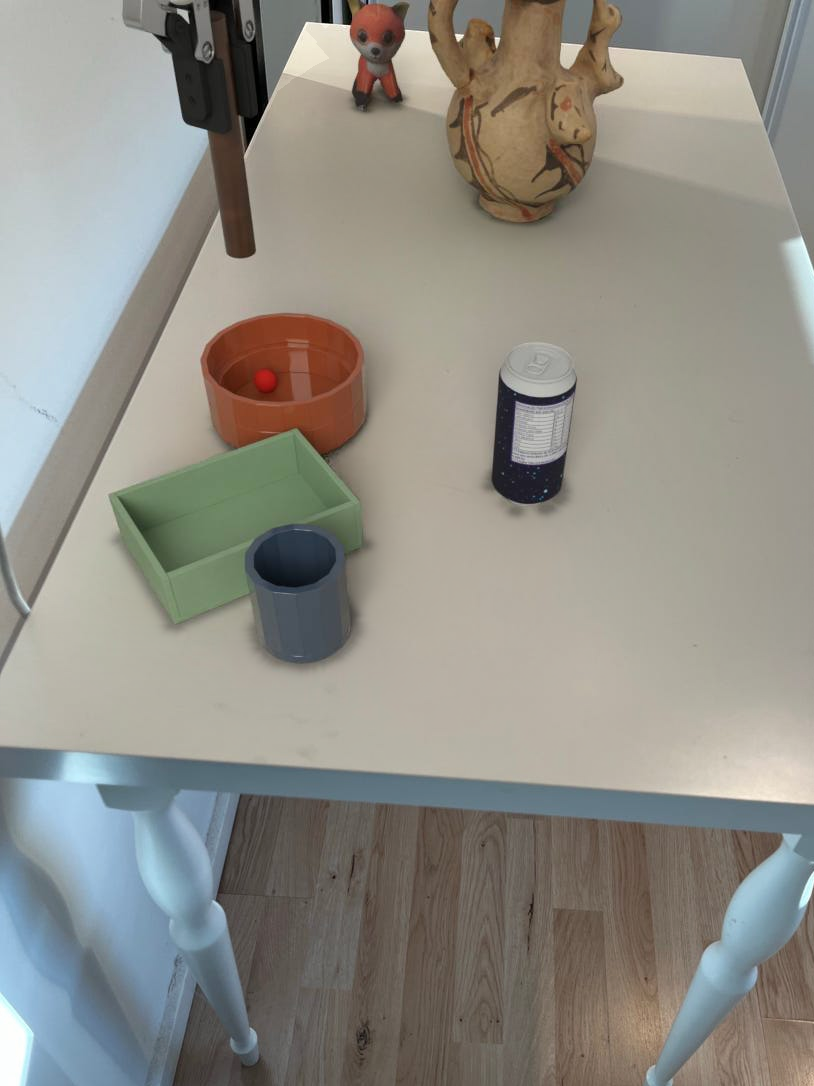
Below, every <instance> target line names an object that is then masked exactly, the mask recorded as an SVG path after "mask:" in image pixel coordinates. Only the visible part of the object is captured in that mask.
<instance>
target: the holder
mask: <svg viewBox="0 0 814 1086" xmlns="http://www.w3.org/2000/svg"><path fill="white" fill-rule="evenodd" d="M346 564H347V563H346V554H345V551H344V546H343V545H342V544H341V542H340V541H339V540H338V539H337V537H336V536H335V535H334V534H333V533H331V532H329V531H327V530H325V529H323V528H320V527H318V526H315V525H308V524H296V523H294V524H288V525H284V526H279V527H275V528H272V529H270V530H268V531H267V532H265V533H263V534H262V535H260V536H258V537H257V538H255V539H254V541H253V542H252V544H251V545H250V547H249V548H248V550H247V551H246V552H245V574H246V579H247V584H248V589H249V594H248V595H249V599H250V603H251V609H252V614H253V619H254V624H255V628H256V633H257V634H258V639H259V641H260V643H261V645H262V646H263V647H264V649H265V650H266V651H267V652H268V653H269V654H270V655H271V656H273V657H274V658H276V659H279V660H282V661H284V662H286V663H287V662H288V663H291V664H292V663H293V664H309V663H315V662H319V661H322V660H324V659H327V658H329V657H330V656H333V655H334V654H335V653H337V652H338V651H339V650H340V649H341V648H342V647H343V646H345V643H346V642H347V641H348V638H349V636H350V633H351V627H352V625H351V610H350V609H351V608H350V599H349V588H348V576H347V574H348V573H347V565H346Z"/></svg>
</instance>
